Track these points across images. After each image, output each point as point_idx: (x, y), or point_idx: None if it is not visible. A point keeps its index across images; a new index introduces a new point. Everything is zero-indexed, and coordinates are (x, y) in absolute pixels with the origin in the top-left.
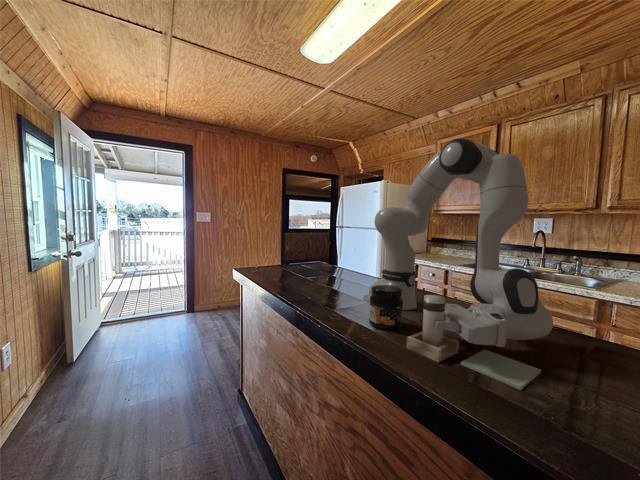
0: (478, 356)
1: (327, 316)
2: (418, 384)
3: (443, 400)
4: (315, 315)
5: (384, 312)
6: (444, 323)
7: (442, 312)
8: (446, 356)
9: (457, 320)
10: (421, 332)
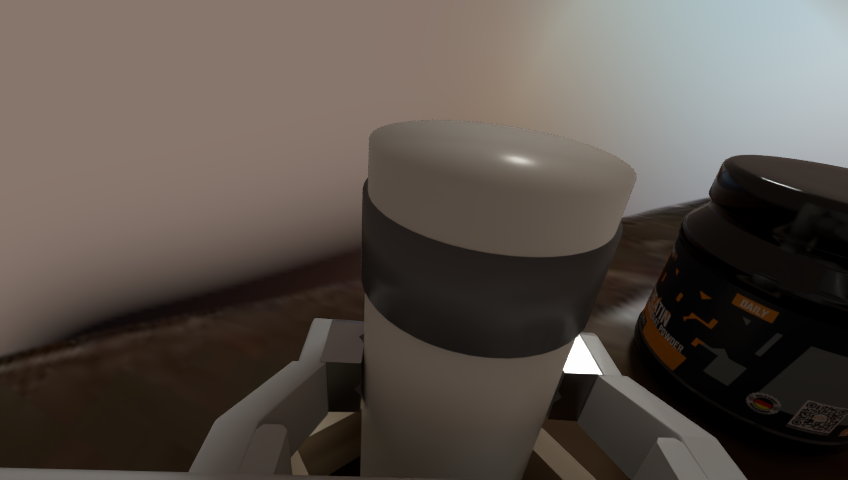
0: None
1: (658, 238)
2: (150, 328)
3: (7, 361)
4: (644, 221)
5: (668, 277)
6: (292, 369)
7: (372, 308)
8: None
9: (207, 473)
10: (548, 442)
